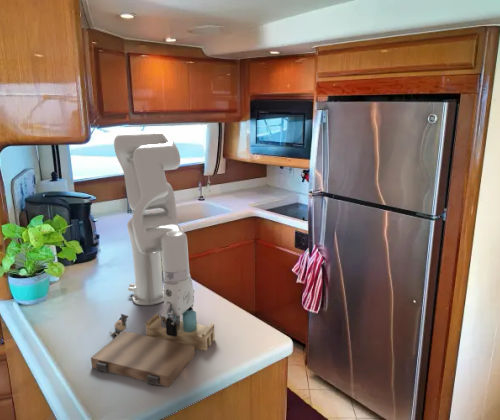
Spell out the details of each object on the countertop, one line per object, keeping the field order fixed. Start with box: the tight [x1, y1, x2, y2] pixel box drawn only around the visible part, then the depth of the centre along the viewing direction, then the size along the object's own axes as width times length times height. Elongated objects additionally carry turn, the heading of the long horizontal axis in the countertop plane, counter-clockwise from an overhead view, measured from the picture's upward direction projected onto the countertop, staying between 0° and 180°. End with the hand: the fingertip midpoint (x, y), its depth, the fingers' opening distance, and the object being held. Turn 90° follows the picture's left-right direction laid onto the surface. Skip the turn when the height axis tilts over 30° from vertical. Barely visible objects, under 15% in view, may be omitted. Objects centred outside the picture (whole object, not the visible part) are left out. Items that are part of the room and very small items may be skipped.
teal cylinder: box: [181, 310, 198, 332], centre depth 121 cm, size 4×4×5 cm
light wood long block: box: [145, 313, 216, 352], centre depth 123 cm, size 20×6×6 cm, turn 70°
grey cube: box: [160, 311, 181, 328], centre depth 123 cm, size 4×4×4 cm
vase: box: [109, 313, 129, 337], centre depth 127 cm, size 5×5×6 cm
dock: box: [90, 330, 196, 388], centre depth 113 cm, size 24×15×3 cm, turn 70°
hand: (180, 327), depth 122 cm, fingers open, 9 cm apart
